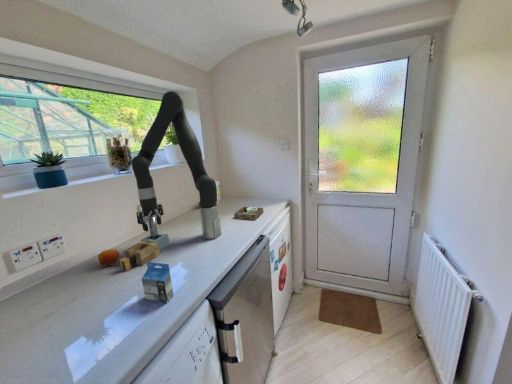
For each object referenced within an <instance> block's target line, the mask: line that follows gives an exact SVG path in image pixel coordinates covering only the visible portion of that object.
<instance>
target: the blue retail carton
mask: <svg viewBox="0 0 512 384" xmlns="http://www.w3.org/2000/svg"><path fill="white" fill-rule="evenodd" d="M146 265H147V269H146V271H145V272H144V274H143V275H142V277H141V283H142V288H143V292H144V298H145V300H146V301H154V302H160V301H161V302H162V303H167V302H168V301H169V300H170V299H172V298H173V297H174V290H173V283H172V278H171V271H170V266H169V265H170V264H169V263H159V262H152V261H149V262H147V263H146ZM170 301H171V300H170ZM170 301H169V302H170ZM169 302H168V303H169Z"/></svg>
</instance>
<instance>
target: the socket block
mask: <svg viewBox="0 0 512 384" xmlns="http://www.w3.org/2000/svg"><path fill="white" fill-rule="evenodd" d="M123 252H124V258H128V257H129V256H131V255H133V254H134V253H135V257H136V262H137V264H136V265H138V266H142V267H143V266H145V265H147V262H152V260H154V259H156V258H157V257H159V256H160V254H161V253H160V250H159V247H158V243H154V242H147V241H141V240H140V241H139V242H137V243H135V244H133V245H131V246H130V247H128V248H126V249H124V250H123Z"/></svg>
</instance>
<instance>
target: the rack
mask: <svg viewBox="0 0 512 384" xmlns="http://www.w3.org/2000/svg"><path fill="white" fill-rule="evenodd" d="M158 235H159V238H157V239H155V240H152V239H151V235H150V234H149V235H147V236H145V237H144V238H141V239H140V242H141V241H147V242H154V243H158V247H159V251H161V250H162V249H164V248H165V247H167V246H168V245H170V238H169V234H168V233H161V232H158Z"/></svg>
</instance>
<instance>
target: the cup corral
mask: <svg viewBox="0 0 512 384" xmlns="http://www.w3.org/2000/svg"><path fill="white" fill-rule="evenodd" d="M249 207H250V206H242V207H241V208H239V209H238V210H237V211H236V212H234V213H233V214H234V215H233V216H234V219H236V220H246V219H249V221H250V220H251V221H256V220H257V219H259V218H260V216H262V214H264V207H257V208H258V209H257V213H255V214H247V208H249ZM245 212H246V213H245Z"/></svg>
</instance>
